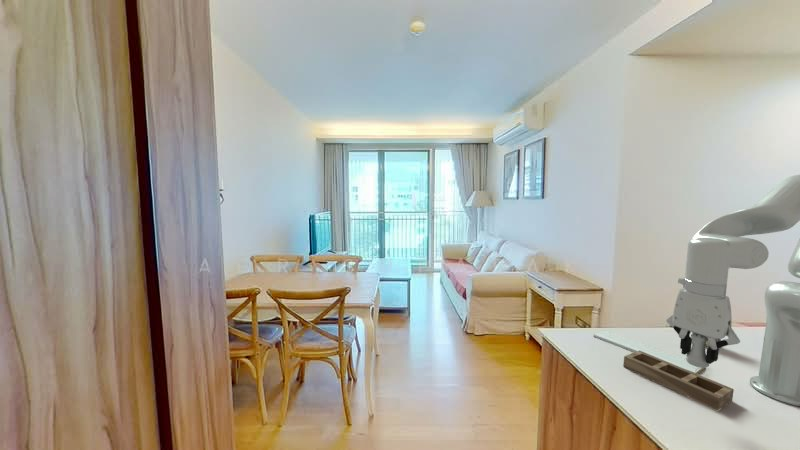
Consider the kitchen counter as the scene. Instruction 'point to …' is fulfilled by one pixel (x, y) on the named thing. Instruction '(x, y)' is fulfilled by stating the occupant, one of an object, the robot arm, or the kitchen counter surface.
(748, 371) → the kitchen counter surface
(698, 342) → the rook chess piece
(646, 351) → the baseboard
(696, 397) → the rack
